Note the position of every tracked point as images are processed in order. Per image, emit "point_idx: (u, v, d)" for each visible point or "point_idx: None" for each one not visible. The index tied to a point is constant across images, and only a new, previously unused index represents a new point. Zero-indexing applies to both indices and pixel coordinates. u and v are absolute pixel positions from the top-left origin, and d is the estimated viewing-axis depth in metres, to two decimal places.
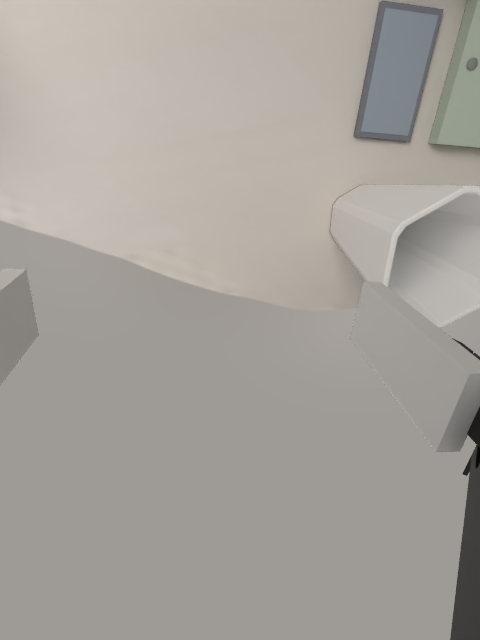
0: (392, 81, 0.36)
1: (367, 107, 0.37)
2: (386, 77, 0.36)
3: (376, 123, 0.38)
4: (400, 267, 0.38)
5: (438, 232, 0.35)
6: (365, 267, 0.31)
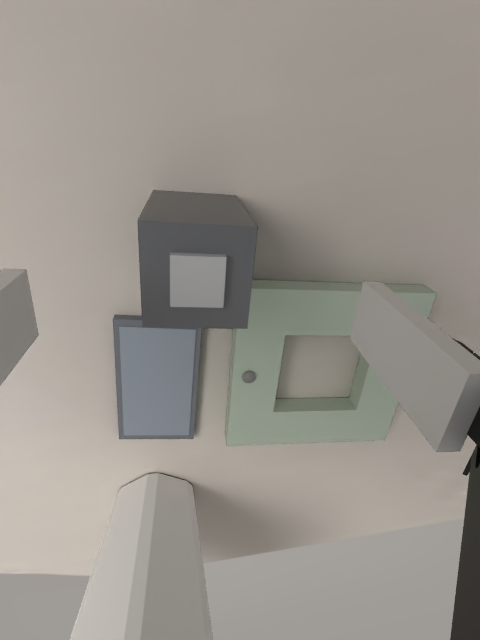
0: (151, 390, 0.28)
1: (126, 413, 0.29)
2: (141, 388, 0.28)
3: (143, 426, 0.30)
4: None
5: None
6: None
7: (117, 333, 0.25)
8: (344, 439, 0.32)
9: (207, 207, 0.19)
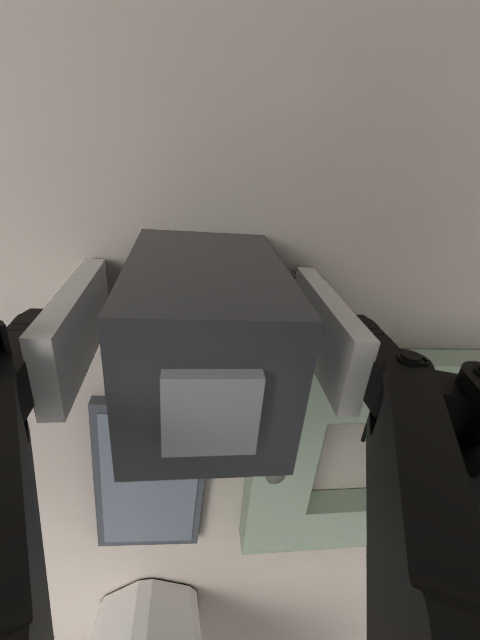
0: (141, 490, 0.21)
1: (108, 517, 0.21)
2: (128, 487, 0.20)
3: (131, 531, 0.22)
4: None
5: None
6: None
7: (94, 422, 0.18)
8: None
9: (225, 268, 0.11)
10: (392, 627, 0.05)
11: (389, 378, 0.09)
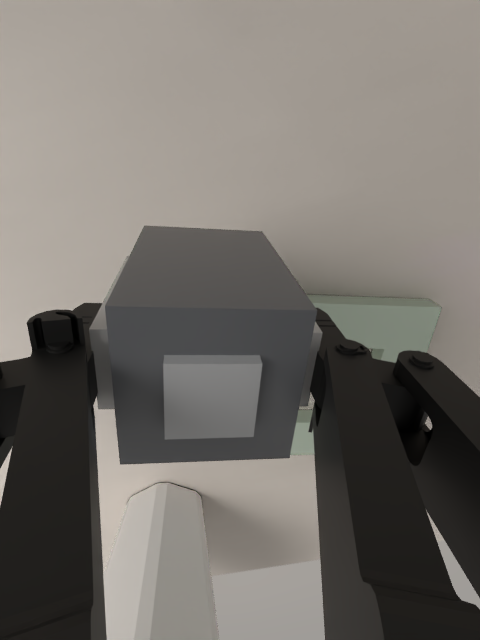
0: None
1: None
2: None
3: None
4: None
5: None
6: None
7: None
8: None
9: (224, 261, 0.12)
10: (347, 622, 0.05)
11: (330, 369, 0.09)
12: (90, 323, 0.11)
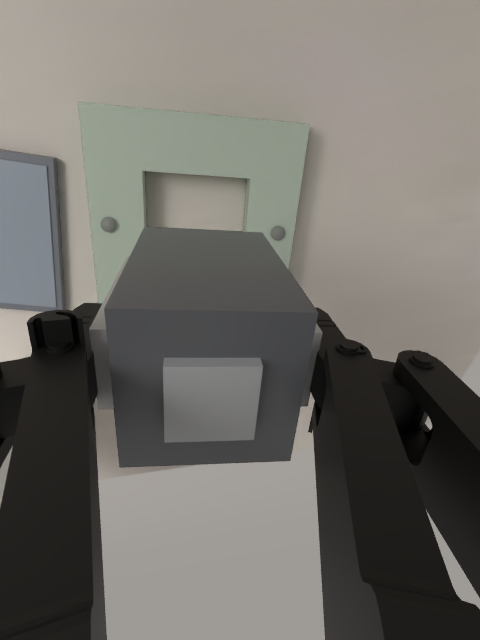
0: (4, 243, 0.25)
1: None
2: None
3: (2, 291, 0.27)
4: None
5: None
6: None
7: None
8: None
9: (225, 263, 0.12)
10: (347, 622, 0.05)
11: (330, 369, 0.09)
12: (90, 323, 0.11)
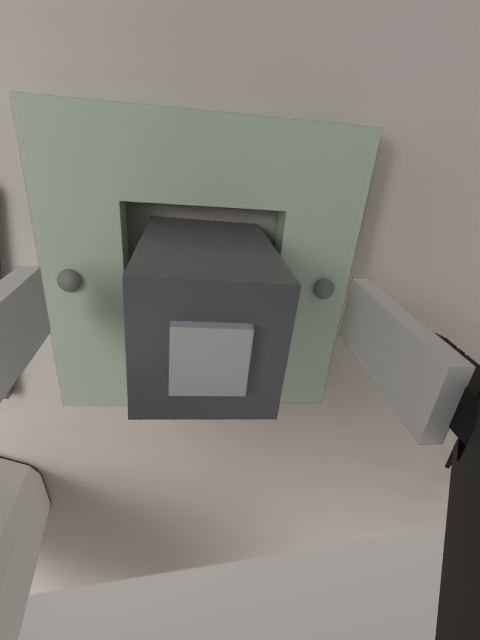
0: None
1: None
2: None
3: None
4: None
5: None
6: None
7: None
8: None
9: (223, 246, 0.13)
10: None
11: None
12: None
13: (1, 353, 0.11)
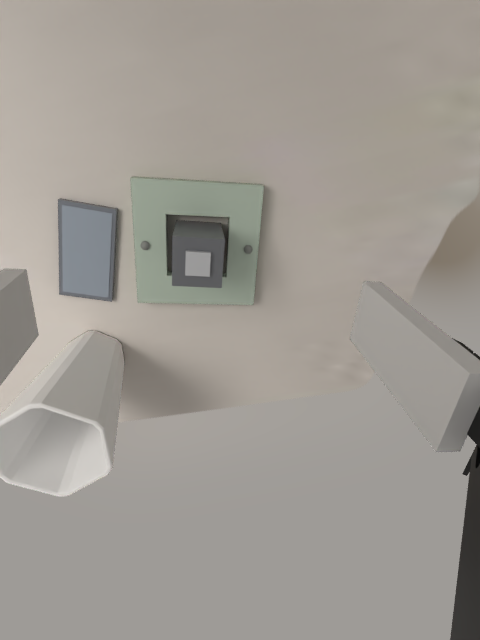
0: (82, 257, 0.42)
1: (65, 273, 0.43)
2: (75, 254, 0.42)
3: (76, 286, 0.43)
4: None
5: None
6: None
7: (60, 210, 0.40)
8: (222, 302, 0.45)
9: (203, 230, 0.38)
10: None
11: None
12: None
13: None
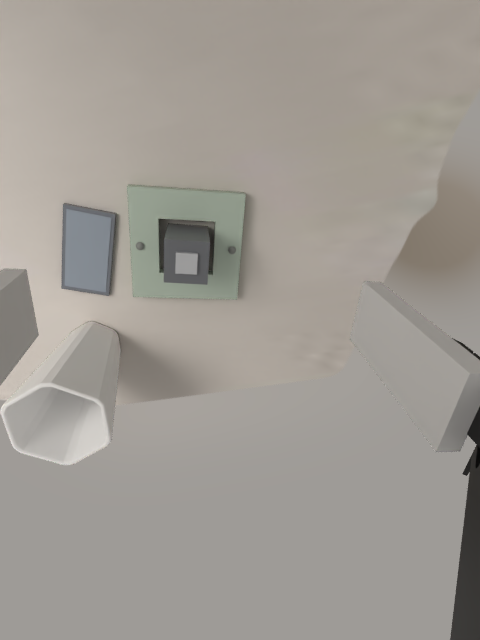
0: (83, 255, 0.47)
1: (67, 270, 0.48)
2: (77, 252, 0.47)
3: (77, 281, 0.48)
4: None
5: None
6: None
7: (65, 213, 0.44)
8: (209, 297, 0.51)
9: (192, 233, 0.44)
10: None
11: None
12: None
13: None
